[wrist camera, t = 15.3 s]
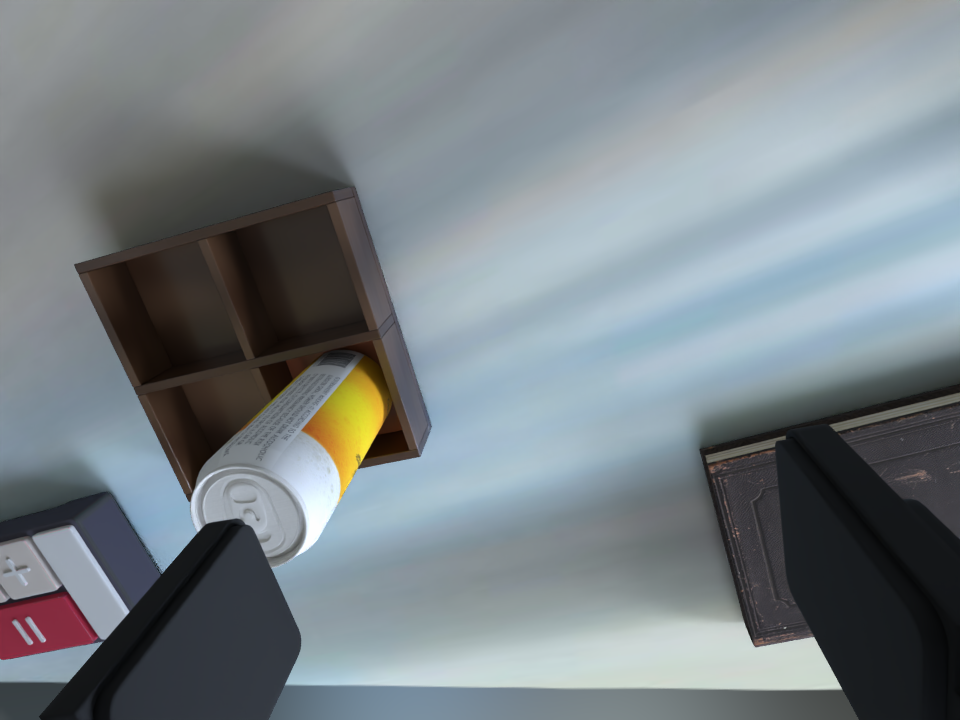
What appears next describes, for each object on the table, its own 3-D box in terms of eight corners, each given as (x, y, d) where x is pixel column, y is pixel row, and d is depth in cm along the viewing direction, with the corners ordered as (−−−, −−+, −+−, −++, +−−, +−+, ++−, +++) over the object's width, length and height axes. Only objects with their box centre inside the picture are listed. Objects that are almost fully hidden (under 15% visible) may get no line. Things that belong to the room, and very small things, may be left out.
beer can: (317, 431, 41) (202, 579, 27) (298, 349, 39) (163, 462, 25) (402, 425, 40) (328, 574, 26) (387, 341, 38) (299, 453, 24)
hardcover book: (699, 448, 40) (708, 466, 38) (1084, 351, 35) (1120, 365, 33) (746, 628, 44) (756, 652, 42) (1091, 563, 40) (1123, 586, 38)
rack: (121, 252, 39) (73, 264, 35) (355, 186, 36) (332, 190, 32) (220, 470, 44) (188, 502, 40) (432, 427, 41) (420, 457, 37)
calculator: (-84, 562, 45) (65, 523, 41) (-31, 527, 49) (109, 489, 45) (-3, 668, 48) (142, 641, 45) (41, 628, 52) (177, 600, 48)
